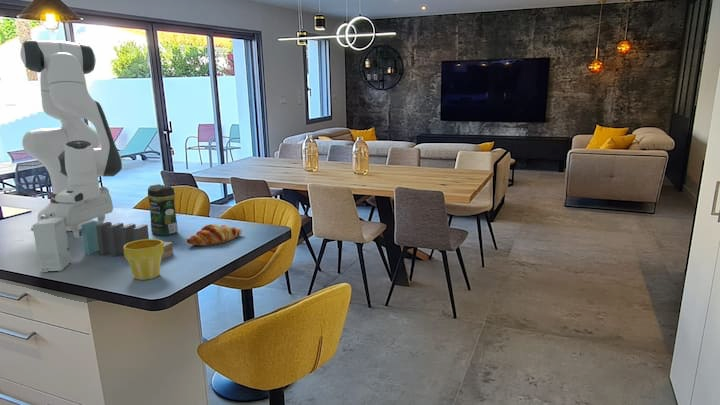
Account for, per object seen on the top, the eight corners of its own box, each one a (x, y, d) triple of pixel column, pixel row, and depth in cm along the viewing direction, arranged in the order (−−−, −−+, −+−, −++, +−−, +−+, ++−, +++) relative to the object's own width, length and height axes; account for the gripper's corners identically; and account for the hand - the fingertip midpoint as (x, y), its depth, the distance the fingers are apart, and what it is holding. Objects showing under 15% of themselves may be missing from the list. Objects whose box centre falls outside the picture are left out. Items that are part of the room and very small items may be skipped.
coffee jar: (147, 233, 178) (143, 185, 174) (166, 228, 184) (162, 182, 180) (162, 237, 172) (157, 188, 168) (181, 232, 179) (177, 185, 175)
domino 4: (123, 257, 151) (120, 227, 149) (134, 252, 156) (131, 223, 154) (128, 257, 151) (124, 227, 149) (138, 252, 156) (135, 223, 154)
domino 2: (99, 255, 153) (96, 225, 151) (110, 250, 158) (107, 222, 156) (103, 255, 153) (100, 226, 151) (114, 250, 158) (111, 222, 155)
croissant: (238, 242, 179) (232, 223, 180) (250, 235, 172) (244, 215, 173) (184, 254, 164) (178, 233, 165) (196, 247, 157) (189, 224, 158)
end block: (147, 261, 148) (145, 249, 147) (162, 253, 156) (161, 241, 155) (158, 262, 147) (157, 249, 146) (173, 253, 155) (172, 242, 154)
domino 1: (85, 254, 154) (81, 224, 152) (96, 249, 159) (92, 221, 157) (89, 254, 154) (85, 225, 152) (100, 249, 159) (97, 221, 157)
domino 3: (111, 256, 152) (108, 226, 150) (122, 251, 157) (119, 222, 155) (116, 256, 152) (112, 227, 150) (126, 251, 157) (123, 223, 155)
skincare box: (61, 271, 139) (54, 223, 136) (38, 273, 137) (31, 224, 134) (71, 262, 147) (65, 216, 144) (50, 263, 145) (43, 217, 142)
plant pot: (135, 269, 141) (132, 238, 139) (171, 269, 141) (168, 238, 139) (120, 283, 131) (116, 249, 129) (158, 282, 131) (155, 249, 129)
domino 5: (136, 258, 150) (133, 228, 148) (146, 253, 155) (143, 224, 153) (140, 258, 150) (137, 228, 148) (150, 253, 155) (147, 224, 153)
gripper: (99, 184, 163) (103, 223, 166) (50, 197, 143) (56, 240, 146) (115, 186, 161) (119, 224, 165) (67, 199, 142) (73, 242, 145)
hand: (89, 232), depth 155 cm, fingers open, 8 cm apart
